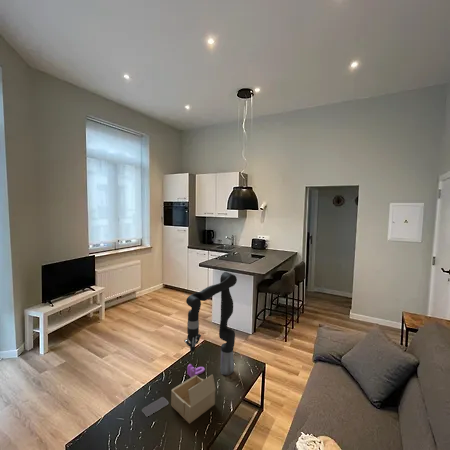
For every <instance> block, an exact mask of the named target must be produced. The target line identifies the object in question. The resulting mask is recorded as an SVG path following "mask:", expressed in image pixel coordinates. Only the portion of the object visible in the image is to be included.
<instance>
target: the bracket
mask: <svg viewBox="0 0 450 450" xmlns="http://www.w3.org/2000/svg"><path fill="white" fill-rule="evenodd" d="M205 370H206V369H205V367H204V366H198V367H196V368H195V367H194V366H193V364H192V363H189V364H188V365H187V367H186V374H187V375H188V376H189V378H191V377H193V376H195V375H197V376H199V375H201V374H203V373H205Z"/></svg>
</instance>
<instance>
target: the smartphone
mask: <svg viewBox="0 0 450 450" xmlns="http://www.w3.org/2000/svg"><path fill="white" fill-rule="evenodd" d="M168 405H169V401H168V400H167V399H166V398H165V397H164V396H161V397H160V398H158V399H157V400H155V401H153V402H151V403H150V404H148V405H146V406H144V407H143V408H142V409H141V412H142V413H143V414H144V415H145V417H147V418H148V416H149V417H151V416H152V415H154V414H155V413H157V412H159V411H160V410H162V409H164V408H165V407H166V406H168ZM153 413H154V414H153Z"/></svg>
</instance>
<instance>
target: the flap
mask: <svg viewBox="0 0 450 450" xmlns="http://www.w3.org/2000/svg"><path fill="white" fill-rule="evenodd" d="M214 378H215V377H214V375H213V374H210V375H209V376H207V377H206V378H203V379H204V380H203V381H201V382H200V383H198V384H197V385H195V386H193V387H192V388H190V389H189V390H188V392H189V398H190V403H191V407H193V406H194V405H196V404H197V403H198V402H200V401H201V400H203V399H204V398H205V397H207V396H208V395H210V394H211V393H212V392H214V391H215V392H216V389H217V388H216V383H215V379H214Z"/></svg>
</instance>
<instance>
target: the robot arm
mask: <svg viewBox="0 0 450 450" xmlns="http://www.w3.org/2000/svg"><path fill="white" fill-rule="evenodd" d="M219 281H220V282H219V283H216V284H212V285H209V286H207V287H205V288H204V289H201V291H197V292H195V293H191V294H189V296H187V298H186V299H185V300H186V301H185V303H186V305H188V306H189V307H190V308H191V309H190V310H189V311H188V312H187V326H186V327H187V328H186V329H187V336H186V339H184V340H183V341H184V343H185V344H186V345H187V346H188V347H189V350H190V351H191V352H192V353H193V352H195V351H196V345H197V344H198V343H199V341H200V339H201V337H202V335H201V334H200V333H199V331H200V321H199V313H200V310H201V307H202V306H201V305H202V302H206V301H208V300H209V299H210V298H212V297H214V296H215V295H217V294H218V293H220V322H219V329H218V330H219V331H218V335H219V336H218V337H219V339H221V340H222V341H224V342H225V343H222V344H221V346H220V369H219V370H220V373H221V374H222V375H224V376H230V375H232V373H233V372H234V370H235V359H234V347H235V340H236V333H235V330H233V329H232V328H229V327H228V321H229V319H230V318H231V316H232V314H233V313H234V300H233V297H232V295H231V292H230V288H232V287H234V286H235V285H236V284H237V281H238V279H237V275H235V274H233V273H230V272H227V271H225V272H222V273H221V275H220V279H219Z"/></svg>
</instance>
